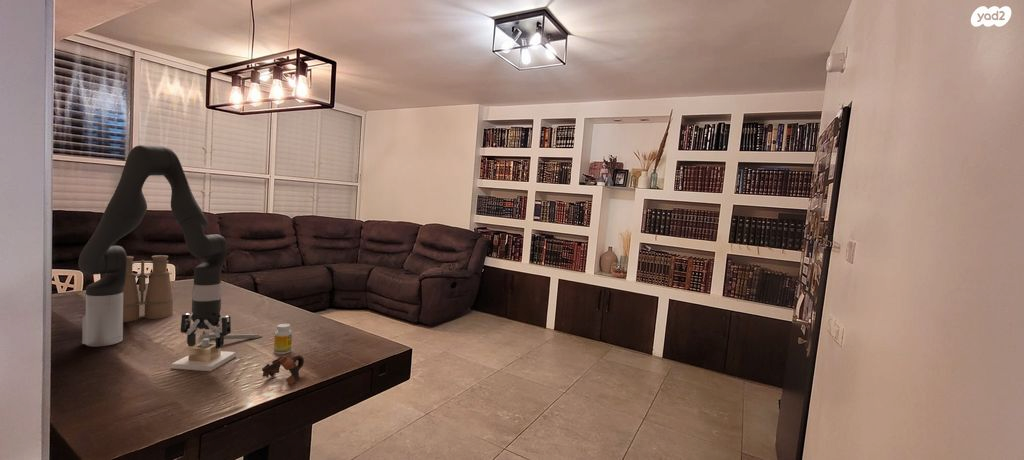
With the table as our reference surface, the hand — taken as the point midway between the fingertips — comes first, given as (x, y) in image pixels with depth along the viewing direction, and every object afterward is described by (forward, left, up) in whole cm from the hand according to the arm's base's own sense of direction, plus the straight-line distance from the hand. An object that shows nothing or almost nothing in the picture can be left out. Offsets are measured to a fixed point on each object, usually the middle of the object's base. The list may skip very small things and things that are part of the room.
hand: (205, 346), depth 135 cm
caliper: (-3, +18, -6) cm, 19 cm away
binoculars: (-52, +38, -5) cm, 65 cm away
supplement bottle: (+18, +13, -5) cm, 23 cm away
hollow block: (0, 0, -4) cm, 4 cm away
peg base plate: (0, 0, -5) cm, 5 cm away
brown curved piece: (+29, -8, -5) cm, 31 cm away
